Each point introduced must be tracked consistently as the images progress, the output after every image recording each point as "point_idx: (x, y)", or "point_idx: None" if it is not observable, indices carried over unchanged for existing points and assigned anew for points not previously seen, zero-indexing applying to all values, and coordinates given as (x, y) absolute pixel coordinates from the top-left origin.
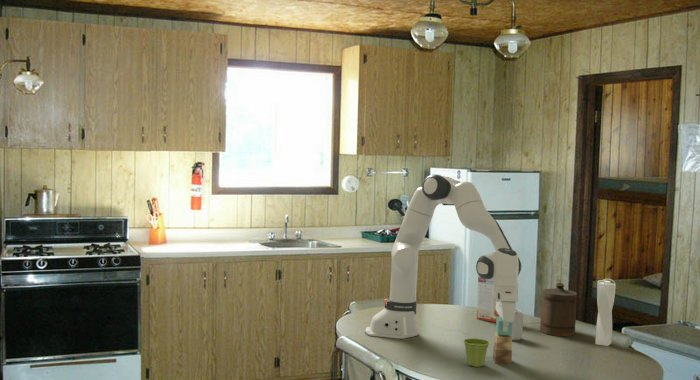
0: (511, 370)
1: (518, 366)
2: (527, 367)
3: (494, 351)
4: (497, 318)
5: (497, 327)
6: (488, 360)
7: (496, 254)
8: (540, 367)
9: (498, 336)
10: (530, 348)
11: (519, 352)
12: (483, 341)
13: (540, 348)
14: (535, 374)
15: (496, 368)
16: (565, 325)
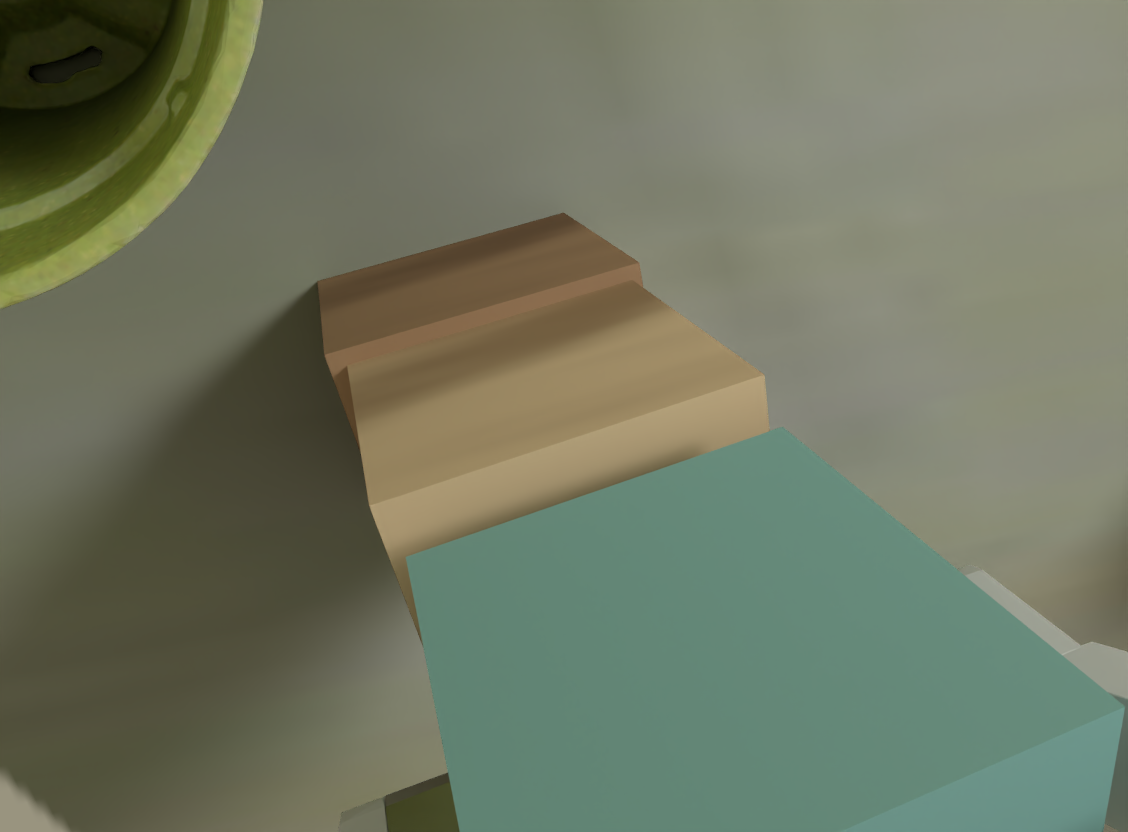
0: (46, 560)
1: (321, 591)
2: (333, 683)
3: (465, 291)
4: (1048, 763)
5: (609, 618)
6: (431, 156)
7: None
8: (409, 782)
9: (422, 532)
10: (1087, 542)
11: (934, 478)
12: (191, 87)
13: (1091, 617)
14: (57, 822)
15: (3, 347)
16: None
